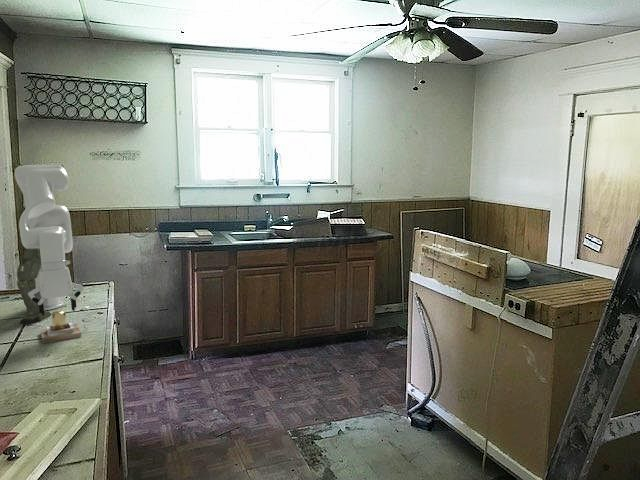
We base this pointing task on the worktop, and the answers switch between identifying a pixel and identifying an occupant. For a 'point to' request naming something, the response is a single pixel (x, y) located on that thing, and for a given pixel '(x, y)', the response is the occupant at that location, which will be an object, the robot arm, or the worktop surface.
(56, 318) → the cylinder
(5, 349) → the worktop surface
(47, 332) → the fitting board
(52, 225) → the robot arm
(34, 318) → the mechanical leg
